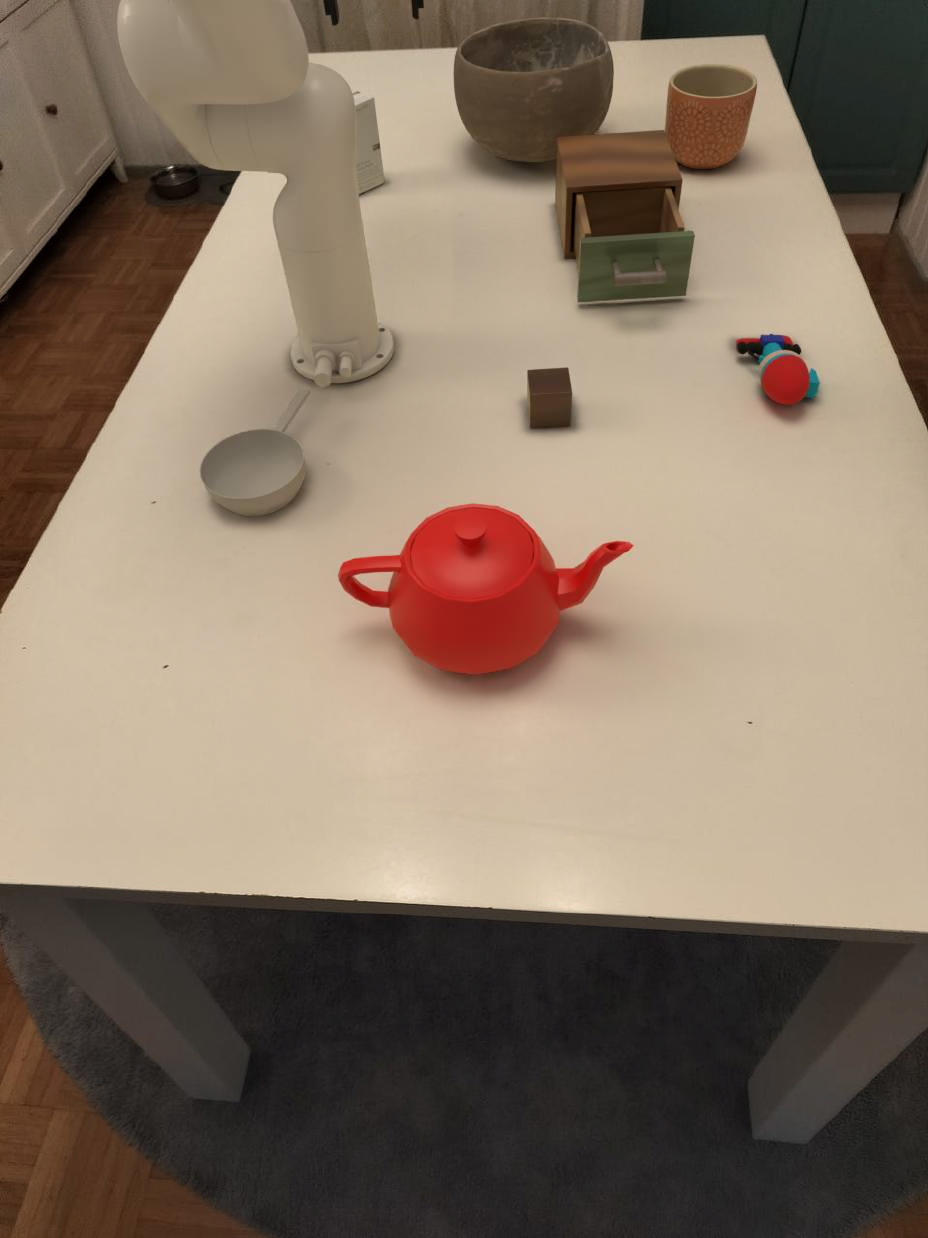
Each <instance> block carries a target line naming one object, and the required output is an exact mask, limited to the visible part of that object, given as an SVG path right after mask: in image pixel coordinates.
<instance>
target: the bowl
mask: <svg viewBox="0 0 928 1238" xmlns="http://www.w3.org/2000/svg"><path fill="white" fill-rule="evenodd" d="M614 75H615V69H614V58H613V54H612V50H611V46H610V45H609V42H608V40H607V38H606V37H605V35H604V34H603V33H602V32H601V31H600V30H599V29H598V28H596V27H595V26H593V25H592V24H590V23H587V22H584V21H581V20H577V19H571V18H565V17H547V16H544V17H532V18H531V17H530V18H522V19H516V20H515V19H514V20H509V21H504V22H499V23H496V24H492V25H489V26H486V27H485V28H482V29H479V30H477V31H475V32H473V33H471V34H469V35H467V37H465V38H464V39H463V40H462V41H461V42H460V43H459V44H458V46H457V49H456V51H455V54H454V61H453V91H454V99H455V103H456V108H457V112H458V115H459V117H460V120H461V122H462V124H463V126H464V128H465V130H466V131H467V133H468V134H469V135H470V137H471V139H473V140H474V141H475V142H476V143H477V145H478V146H479V147H481V148H482V149H483V150H484V151H487V152H488V153H490V154H492V155H493V156H495V157H497V158H500V159H504V160H507V161H514V162H520V163H521V162H522V163H543V162H549V161H555V160H556V147H557V137H566V136H581V135H595V134H597V132H598V131H599V130H600V127H601V126H602V125H603V122H604V121H605V120H606V117H607V115H608V112H609V109H610V106H611V104H612V103H611V102H612V98H613V91H614V78H615V77H614Z"/></svg>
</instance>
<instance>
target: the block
mask: <svg viewBox="0 0 928 1238" xmlns="http://www.w3.org/2000/svg"><path fill="white" fill-rule="evenodd" d="M526 373H527V374H526V405H527V413H528V423H529V428H530V429H542V428H560V427H571V426H572V409H573V408H572V407H573V389H572V388H573V387H572V383H571V382H572V381H571V374H570V369H569V367H552V368H534V369H533V368H532V369H527V370H526Z"/></svg>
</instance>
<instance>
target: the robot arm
mask: <svg viewBox="0 0 928 1238" xmlns="http://www.w3.org/2000/svg"><path fill="white" fill-rule="evenodd" d="M322 1H323V8H324V14H325V16H326V17H327V16H330V20H331V26H332V27H335V26H338V25H339V23H340V10H339V4H338V3H339V2H338V0H322ZM410 3H411V15H412V19H414V20H419V19H420V12H419V9H424V8H425V3H424V0H410ZM116 21H117V22H116V29H117V38H118V44H119V47H120V48H119V49H120V52H121V55H122V59H123V62H124V65H125V68H126V70H127V73H128V75H129V77H130V80H131V81H132V83H133V84H134V86H135V87H136V90H137V91H138V92H139V94H140V95H141V97H142V98H143V100H144V101H145V102H146V103H147V105H148V106H149V107H150V108H151V109H152V111H153V112H154V113H155V114H156V116H157V117H158V118H159V119H160V121H161V122H162V123H163V125H165V126H166V128H167V129H168V130H169V131H170V133H171V134H172V135H173V137H174V138H175V139H176V140H177V141H178V142H179V144H180V145H181V147H183V148H184V149H185V151H186V152H187V153H188V154H189V155H190V156H191V157H192V158H193V159H194V160H195V161H196V162H198V163H199V164H201V165H202V166H204V167H207V168H209V169H212V170H217V171H228V172H229V171H230V172H261V173H269V174H279V175H282V176H284V177H285V178H286V183H285V185H284V186H283V187H282V188H281V190H280V192H279V194H278V196H277V197H276V200H275V202H274V206H273V208H272V209H273V210H272V226H273V230H274V234H275V238H276V242H277V247H278V251H279V256H280V260H281V263H282V268H283V272H284V277H285V281H286V286H287V290H288V294H289V298H290V302H291V307H292V311H293V316H294V321H295V324H296V328H297V333H298V335H297V336H296V337H295V339H294V340H293V341H292V343H291V346H290V350H289V354H290V359H291V363H292V366H293V368H294V369H295V371H296V372H297V373H298V374H300V375H302V376H303V377H305V378H307V379H309V380H311V381H314V383H315V384H316V386H317V387H320V388H327V387H329V386H330V385H331V384H345V383H351V382H356V381H361V380H363V379H365V378H368V377H370V376H372V375H375V374H376V373H377V372H379V371H380V370H382V369H383V368H384V367H385V366H386V365H387V364H388V363H389V362H390V360H391V359H392V357H393V355H394V352H395V343H394V336H393V334H392V332H391V331H390V329H389V328H388V327H387V326H385V325H384V324H382V323H381V322H379V321H378V316H377V315H378V314H377V309H376V301H375V296H374V289H373V283H372V276H371V268H370V263H369V262H370V261H369V256H368V249H367V243H366V235H365V229H364V222H363V216H362V209H361V201H360V194H359V192H358V182H357V168H356V108H355V102H354V97H353V94H352V93H353V91H352V89H351V86H350V85H349V83H348V81H347V80H346V79H345V78H344V77H343V76H342V75H341V74H340V73H338V71H336V70H335V69H332V68H330V67H328V66H326V65H322V64H319V63H314V62H310V56H309V55H310V54H309V48H308V44H307V39H306V36H305V35H306V34H305V32H304V29H303V27H302V25H301V22H300V20H299V18H298V15H297V13H296V11H295V9H294V7H293V4H292V1H291V0H120V1H119V4H118V9H117V16H116Z"/></svg>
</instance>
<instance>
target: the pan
mask: <svg viewBox="0 0 928 1238" xmlns="http://www.w3.org/2000/svg"><path fill="white" fill-rule="evenodd" d="M310 394H311V388H308V387H301V388H299V390H298V391H297V393H296V394H295V396H294V397H293V399H292V400H291V402H290V403H289V404H288V406H287V407H286V409H285V410H284V412H283V413H282V415H281V416H280V418H279V419H278V420H277V422H276V424H275V425H274V426H273V428H256V429H249V430H243V431H240V432H237V433H234V434H232V435H229V436H227V437H225V438H224V439H221V441H219V442H217V443H216V444H214V445H213V446H212V447H210V449H209V450H208V451H207V452H206V453H205V455H204V456H203V458H202V459H201V460H202V461H201V462H200V467H199V477H200V480H201V482H202V484H203V486H204V488H205V490H206V492H207V493H208V495H209V496H210V497H211V499H212V500H214V501H215V502H216V503H217V504H219V505H220V506H222V507H223V508H225V509H227V510H228V511H230V512H231V513H234V514H236V515H239V516H244V517H246V516H247V517H260V516H264V515H269V514H272V513H274V512H277V511H279V510H281V509H283V508H284V507H286V506H287V505H289V503H291V502H292V501H293V500H294V499H295V497H296V496H297V494H298V492H299V490H300V488H301V486H302V484H303V481H304V479H305V475H306V458H305V453H304V449H303V447H302V445H301V443H300V442H299V441H298V439H297V438H295V437H293V436H292V435H291V434H289V433H286V432H285V431H286V430H287V429H288V427H289V425H290V424H291V423H292V422H293V419H295V416H296V415H297V414H298V412H299V411H300V409H301V408H302V406H303V405H304V403H305V402H306V400H307V398H309V396H310Z"/></svg>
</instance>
